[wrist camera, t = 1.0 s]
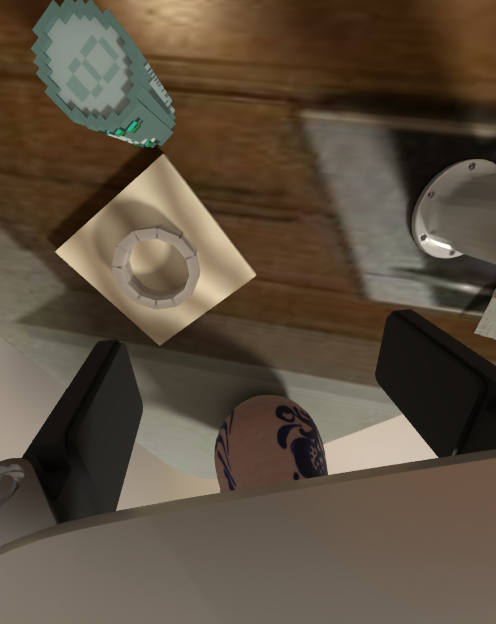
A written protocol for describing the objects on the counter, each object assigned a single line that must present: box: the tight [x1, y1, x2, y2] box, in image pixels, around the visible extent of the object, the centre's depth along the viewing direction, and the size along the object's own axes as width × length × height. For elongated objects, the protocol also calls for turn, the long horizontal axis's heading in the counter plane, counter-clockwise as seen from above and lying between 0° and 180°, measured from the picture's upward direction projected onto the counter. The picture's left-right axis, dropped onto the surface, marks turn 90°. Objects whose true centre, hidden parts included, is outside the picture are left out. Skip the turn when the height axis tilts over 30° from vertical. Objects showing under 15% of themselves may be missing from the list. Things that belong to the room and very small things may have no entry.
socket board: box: [55, 154, 256, 346], centre depth 36 cm, size 18×18×4 cm
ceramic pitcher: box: [214, 395, 328, 493], centre depth 42 cm, size 18×21×25 cm
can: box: [31, 0, 176, 148], centre depth 24 cm, size 6×6×15 cm
